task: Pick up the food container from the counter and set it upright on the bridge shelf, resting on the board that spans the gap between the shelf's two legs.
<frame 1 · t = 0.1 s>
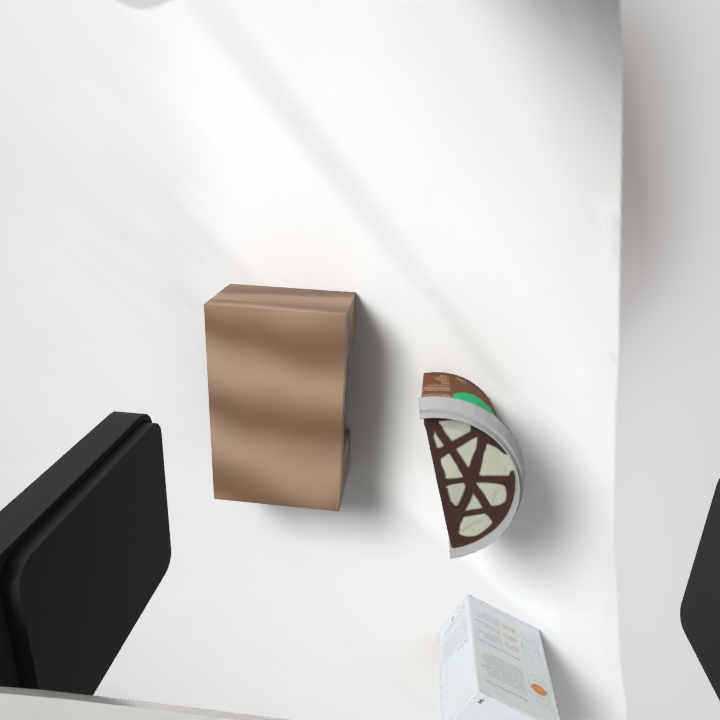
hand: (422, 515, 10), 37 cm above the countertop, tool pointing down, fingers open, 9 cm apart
small box: (488, 628, 57), on the countertop
bridge shelf: (292, 381, 50), on the countertop
food container: (471, 417, 50), on the countertop
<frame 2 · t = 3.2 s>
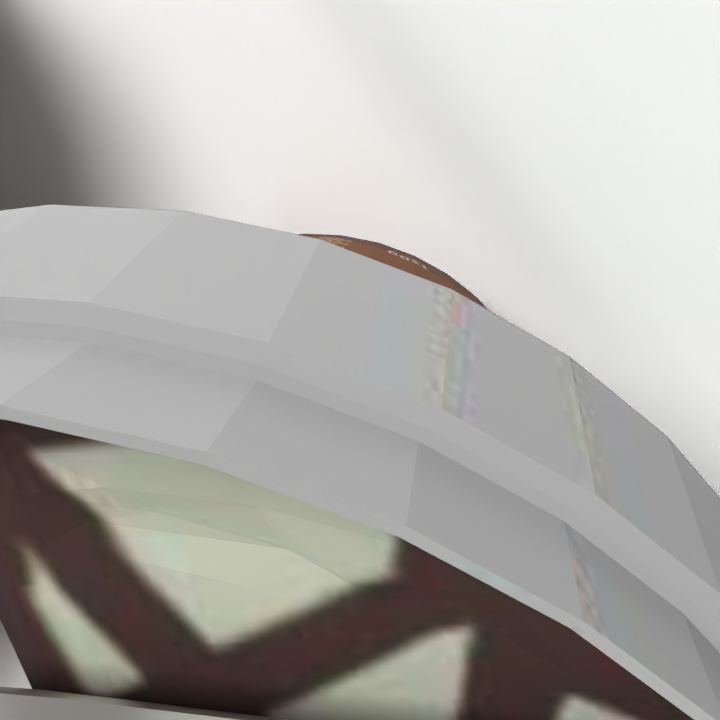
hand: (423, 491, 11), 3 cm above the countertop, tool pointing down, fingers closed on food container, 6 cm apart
food container: (447, 418, 14), on the countertop, touching gripper
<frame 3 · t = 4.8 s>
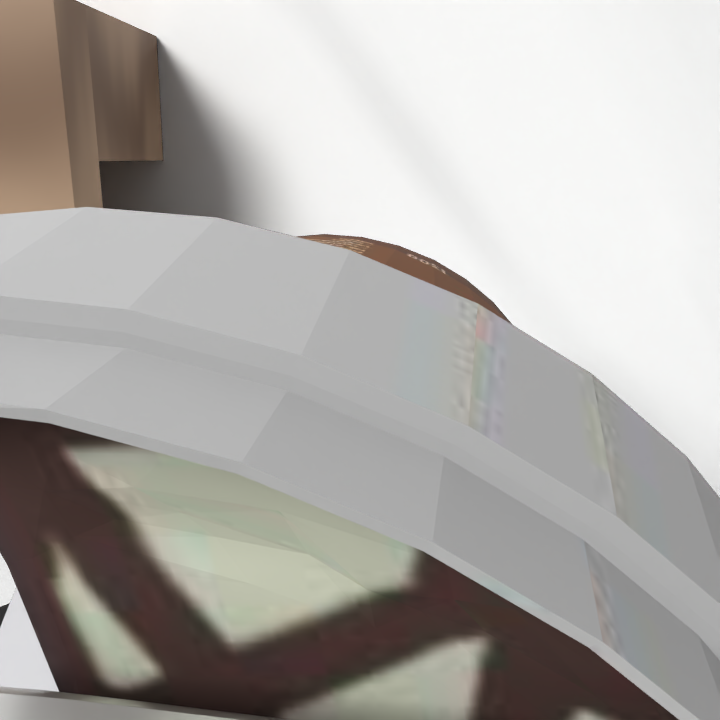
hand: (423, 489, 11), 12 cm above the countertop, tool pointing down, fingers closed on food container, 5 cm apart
bridge shelf: (45, 261, 23), on the countertop
food container: (460, 422, 14), point 9 cm above the countertop, touching gripper
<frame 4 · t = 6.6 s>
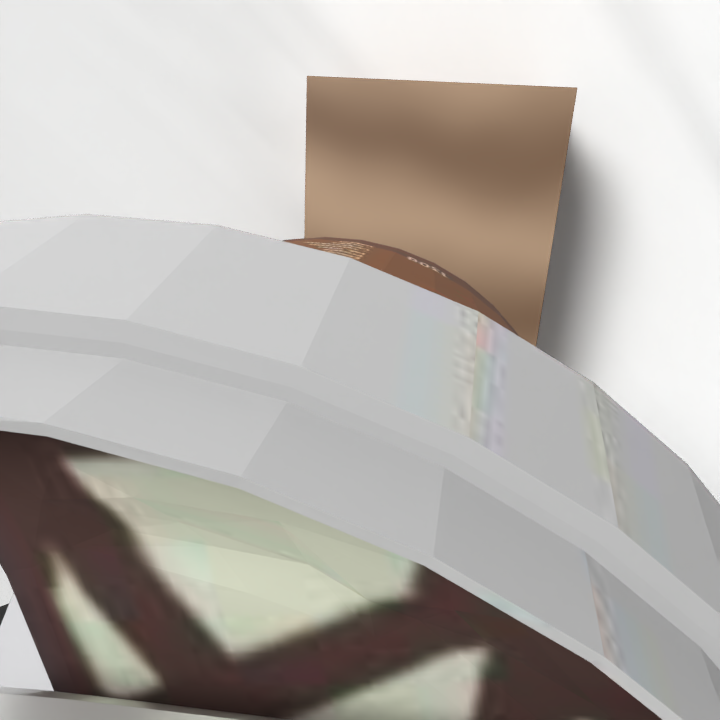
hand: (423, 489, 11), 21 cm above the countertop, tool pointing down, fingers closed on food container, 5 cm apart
bridge shelf: (422, 263, 31), on the countertop
food container: (460, 425, 14), point 18 cm above the countertop, touching gripper
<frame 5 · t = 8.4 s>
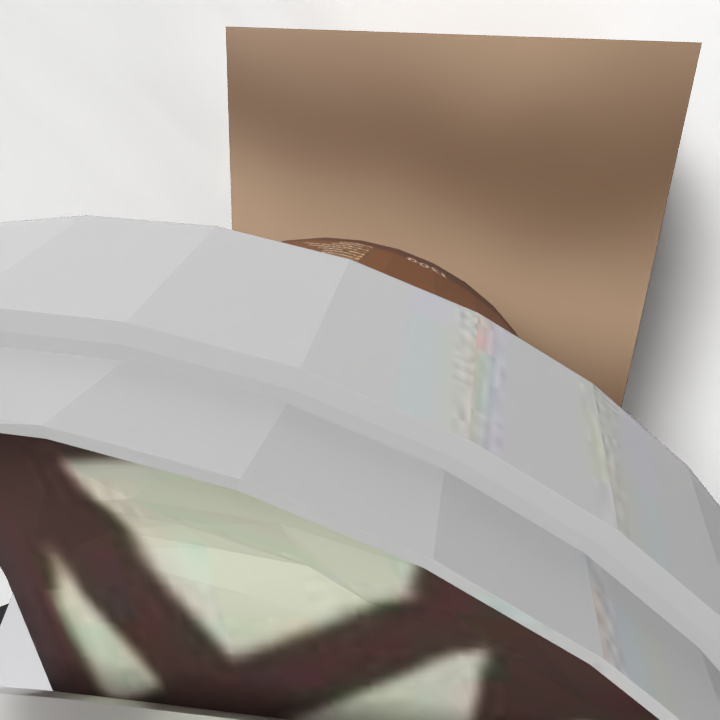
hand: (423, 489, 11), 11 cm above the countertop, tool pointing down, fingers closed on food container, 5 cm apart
bridge shelf: (425, 315, 21), on the countertop
food container: (460, 425, 14), point 8 cm above the countertop, touching gripper
when the fingers open (10 cm above the countertop, at t = 9.6 s): food container moves 1 cm, resting on bridge shelf.
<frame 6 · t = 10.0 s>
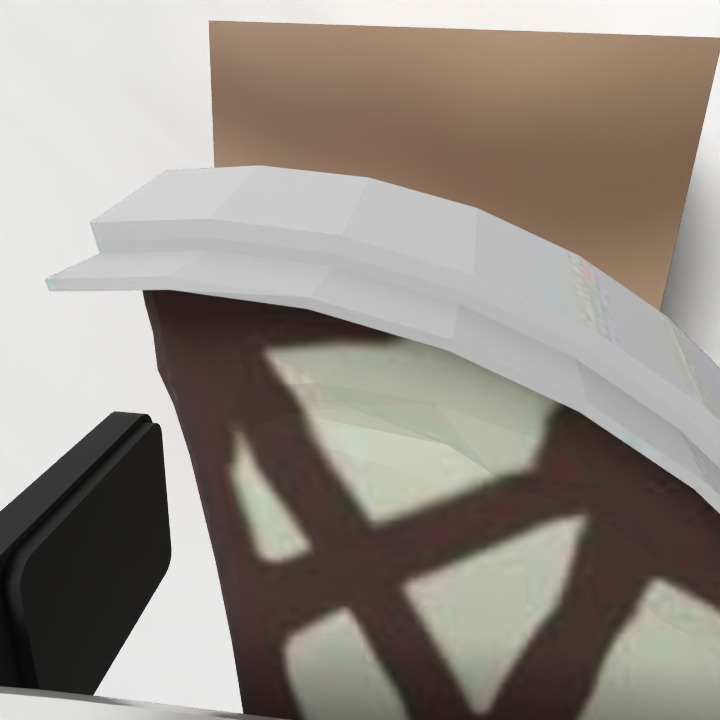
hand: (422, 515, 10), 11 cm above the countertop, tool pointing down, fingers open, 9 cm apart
bridge shelf: (424, 326, 20), on the countertop
food container: (493, 397, 15), point 6 cm above the countertop, touching bridge shelf
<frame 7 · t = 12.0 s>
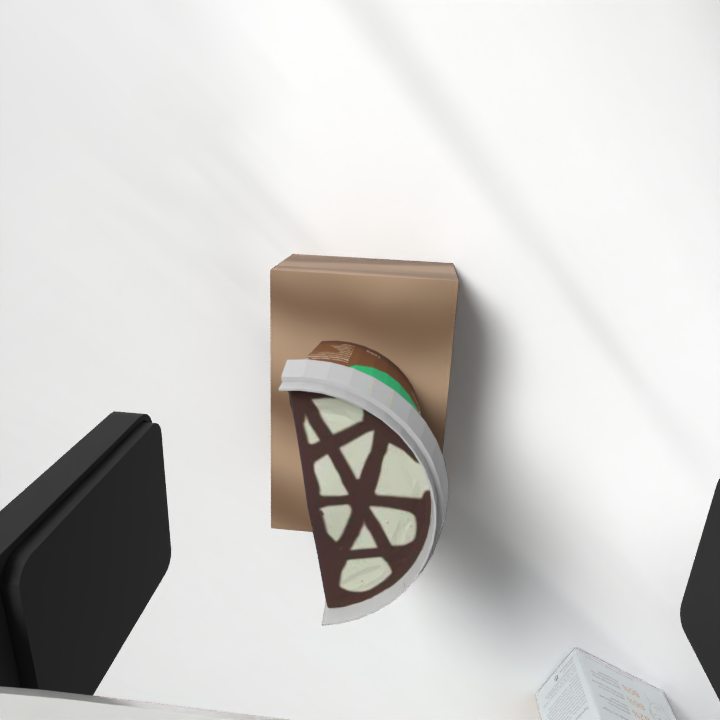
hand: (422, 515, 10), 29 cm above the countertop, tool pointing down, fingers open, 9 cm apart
small box: (597, 689, 46), on the countertop
bridge shelf: (365, 379, 40), on the countertop
food container: (387, 413, 34), point 6 cm above the countertop, touching bridge shelf
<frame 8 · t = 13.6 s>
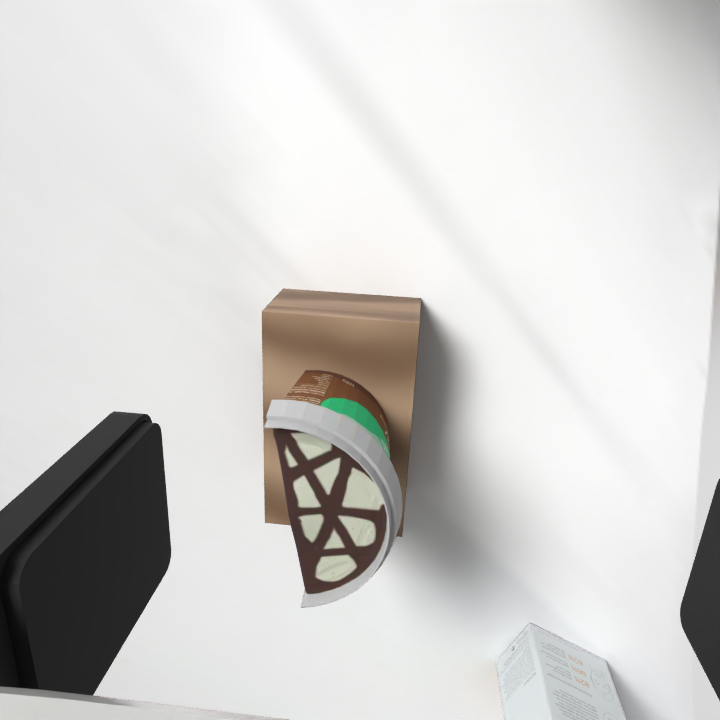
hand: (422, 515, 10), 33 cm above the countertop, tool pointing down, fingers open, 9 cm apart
small box: (550, 658, 53), on the countertop
bridge shelf: (347, 394, 46), on the countertop
food container: (361, 429, 41), point 6 cm above the countertop, touching bridge shelf
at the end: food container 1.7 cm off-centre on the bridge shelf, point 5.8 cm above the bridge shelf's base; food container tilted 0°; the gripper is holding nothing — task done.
